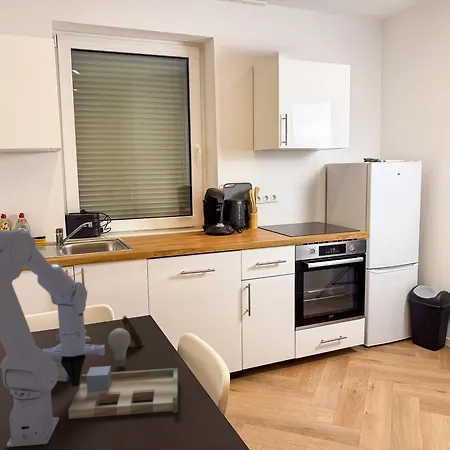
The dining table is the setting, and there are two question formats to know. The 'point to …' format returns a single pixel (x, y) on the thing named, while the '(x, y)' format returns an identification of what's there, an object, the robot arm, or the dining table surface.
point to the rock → (130, 332)
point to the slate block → (98, 379)
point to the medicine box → (60, 368)
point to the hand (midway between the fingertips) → (75, 384)
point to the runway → (129, 394)
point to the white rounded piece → (85, 337)
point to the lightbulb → (119, 344)
